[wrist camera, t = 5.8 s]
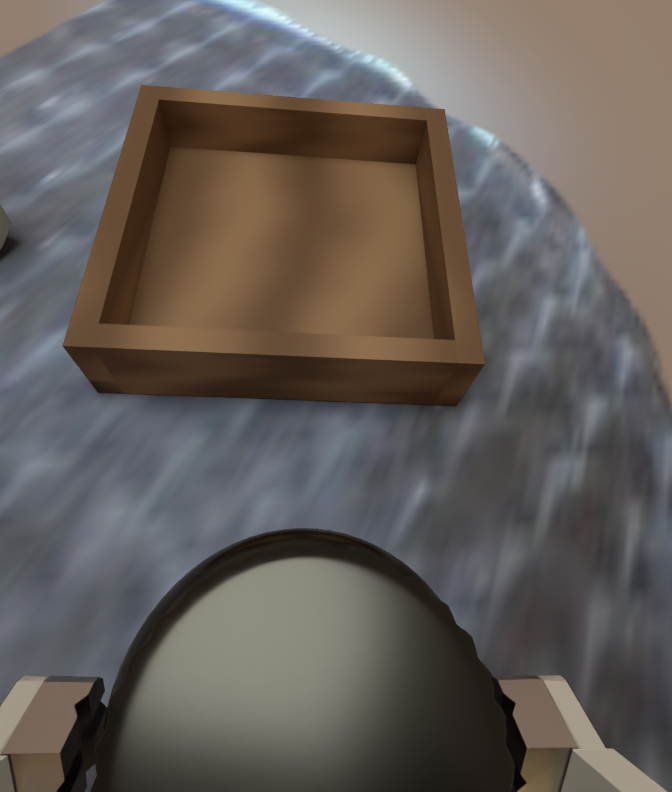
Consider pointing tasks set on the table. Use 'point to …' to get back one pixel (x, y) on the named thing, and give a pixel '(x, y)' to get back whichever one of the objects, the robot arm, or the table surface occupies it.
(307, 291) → the walnut tray
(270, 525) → the table surface
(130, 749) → the supplement bottle
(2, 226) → the valve
